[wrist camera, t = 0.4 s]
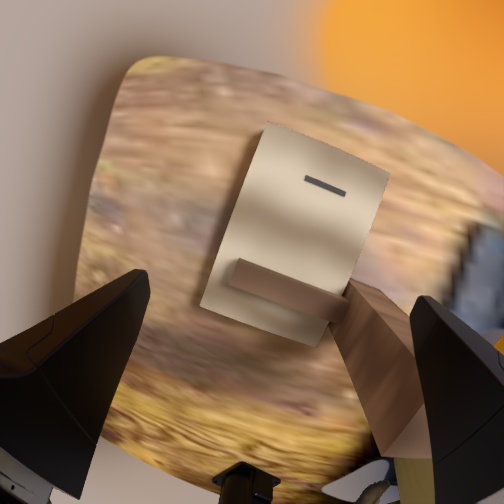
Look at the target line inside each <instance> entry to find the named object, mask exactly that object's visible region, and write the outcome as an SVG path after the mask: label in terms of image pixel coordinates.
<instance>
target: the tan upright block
mask: <svg viewBox="0 0 504 504" xmlns="http://www.w3.org/2000/svg"><path fill="white" fill-rule="evenodd" d="M229 285H231V286H234V287H236V288H239V289H241V290H244V291H247V292H249V293H252V294H255V295H257V296H260V297H263V298H266V299H268V300H271V301H274V302H277V303H279V304H282V305H285V306H288V307H290V308H293V309H296V310H299V311H302V312H304V313H307V314H310V315H313V316H316V317H319V318H322V319H324V320H327V321H329V323H328V325H329V327H330V329H331V332H332V334H333V336H334V339H335V341H336V344H337V346H338V348H339V351H340V353H341V355H342V358H343V360H344V363H345V365H346V367H347V370H348V372H349V375H350V377H351V380H352V382H353V385H354V387H355V390H356V392H357V394H358V397H359V400H360V402H361V405H362V407H363V410H364V412H365V415H366V417H367V420H368V423H369V425H370V428H371V430H372V433H373V436H374V438H375V441H376V444H377V446H378V449H379V452H380V454H381V456H383V457H398V458H428V459H432V453H431V445H430V437H429V430H428V423H427V417H426V410H425V405H424V399H423V394H422V389H421V384H420V379H419V374H418V370H417V365H416V360H415V355H414V348H413V340H412V333H411V327H410V320H409V318H410V317H409V316H408V315H407V314H406V313H405V312H404V311H403V310H401V309H400V308H399V307H398V306H397V305H396V304H395V303H394V302H393V301H392V300H391V299H389V298H388V297H387V296H386V295H385V294H384V293H383V292H382V291H381V290H379V289H377V288H374V287H371V286H369V285H366V284H364V283H361V282H359V281H356V280H354V279H351V278H349V281H348V283H347V285H346V287H345V289H344V292H343V294H342V296H340V295H337V294H334V293H332V292H329V291H326V290H324V289H321V288H318V287H316V286H313V285H310V284H308V283H305V282H302V281H300V280H297V279H294V278H292V277H289V276H286V275H284V274H281V273H278V272H276V271H273V270H270V269H268V268H265V267H262V266H260V265H257V264H254V263H252V262H249V261H247V260H244V259H241V258H239V259H238V261H237V263H236V266H235V268H234V271H233V274H232V277H231V279H230V282H229Z"/></svg>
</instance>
